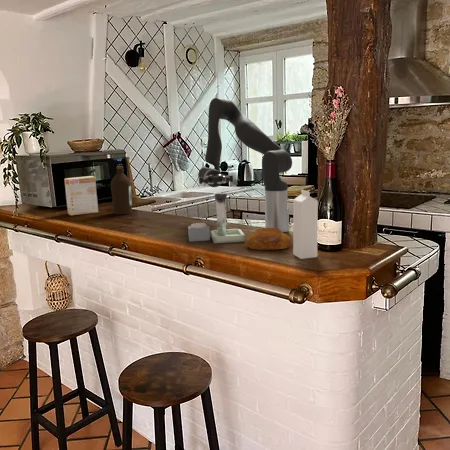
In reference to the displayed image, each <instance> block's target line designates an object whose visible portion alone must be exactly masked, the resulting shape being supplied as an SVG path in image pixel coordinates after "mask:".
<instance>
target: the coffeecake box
mask: <svg viewBox="0 0 450 450" xmlns="http://www.w3.org/2000/svg"><path fill="white" fill-rule="evenodd" d="M64 188H65V190H64V191H65V199H66V208H67V214H68V215H69V216H79V215H84V214H85V215H87V214H95V213H99V205H98V195H97V184H96V176H93V175H87V176H76V177H66V178H64Z"/></svg>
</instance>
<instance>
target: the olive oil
mask: <svg viewBox="0 0 450 450" xmlns="http://www.w3.org/2000/svg"><path fill="white" fill-rule="evenodd" d="M110 190H111V197H112V198H111V199H112V204H113V214H114V215H118V216H119V215H130V214H133V206H132V205H133V201H132V199H133V198H132V197H133V196H132V195H133V193H132V182H131V179H130V178H129V177H128V176H127V175H126V174H125V173H124V166H123V165H117V166H116V174H115V175H114V177H113V178H112V179H111V181H110Z"/></svg>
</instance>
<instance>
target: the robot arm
mask: <svg viewBox="0 0 450 450" xmlns="http://www.w3.org/2000/svg"><path fill="white" fill-rule="evenodd" d="M207 118H208V122H207V123H208V125H207V145H206V150H205V155H204V156H205V157H204V161H205V163H208V164H210V165H212V166H213V167H214V168H211V167H210V168H209V167H204V166H203V167H201V168H200V169H199V171H198V173H197V176H198V183H199V185H202V184H204V185H207V186H209V187H211V188H217V187H219V186H221V184H226V183H229V182H231V183H232V182H234V175H231V174H228V175H225V174H222V172H221V167H220V162H221V156H222V149H223V144H222V139H221V136H220V133H219V132H220V131H219V123H220V120H225V121H227V122H229V123H230V124H231V125H232V126H234V131H235V135H236V137H237V138H238V140H239V141H241V142H242V144H244V145H245V146H246V147H247V148H249V149H251V150H253V151H256V152H258V153H259V154H262V155H263V156H262V160H261V161H262V162H261V167H262V168H261V170H262V182H263V185H264V208H265V209H264V210H265V212H264V214H265V216H264V219H265V220H264V221H265V226H264V228H276V229H279V230H281V231H282V232H283V233H286V232H290V209H289V207H288V183H287V182H286V181H283V180H282V179H281V178H280V174H282V173H286V172H288V171H290V170H291V168H292V167H293V158H292V157H291V155H290V153H289V151H287V150H286V149H284V148H283V147H281V146H280V145H278V144H277V143H276V142H274V140H272V139H271V137H269V136H268V135H267V134H266V133H264V132H263V131H262V130H261V129H260V128H259V127H258V125H256V124H255V123H254V122H253V121H252V120H250V118H249V117H247V116H246V115H245V114H244V112H242V111H241V109H240V108H239V107H238V106H237V105H236V103H235V102H234V101H233V100H231V99H229V98H221V97H214V98H212V99H211V101H210V103H209V107H208V117H207Z"/></svg>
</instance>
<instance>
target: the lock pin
mask: <svg viewBox="0 0 450 450" xmlns="http://www.w3.org/2000/svg"><path fill="white" fill-rule="evenodd" d="M227 196H228V195H227V193H223V192H222V193H215V194H214V200H215V201H216V202H215V203H216V204H215V205H216V206H215V207H216V230H217V236H227V231H226V229H227V204H226V203H227V201H226V200H227V199H228V197H227Z"/></svg>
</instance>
